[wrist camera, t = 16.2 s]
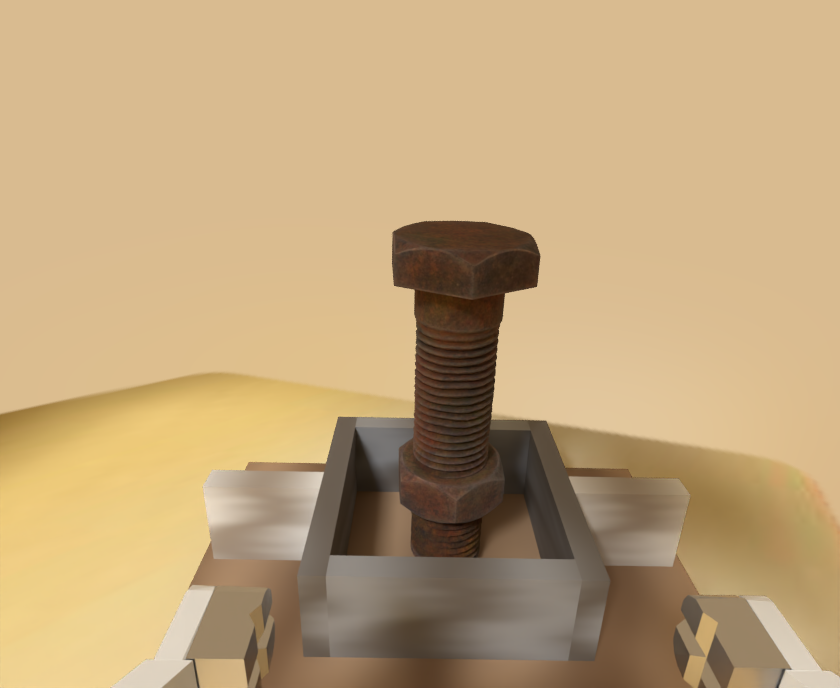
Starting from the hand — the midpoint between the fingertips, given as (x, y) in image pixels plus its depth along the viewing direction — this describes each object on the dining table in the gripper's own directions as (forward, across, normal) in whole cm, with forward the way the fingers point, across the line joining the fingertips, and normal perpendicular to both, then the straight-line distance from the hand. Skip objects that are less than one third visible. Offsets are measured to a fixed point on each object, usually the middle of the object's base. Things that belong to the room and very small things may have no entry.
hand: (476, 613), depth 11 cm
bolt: (+12, 0, +10) cm, 16 cm away
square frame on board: (+12, 0, +12) cm, 17 cm away
